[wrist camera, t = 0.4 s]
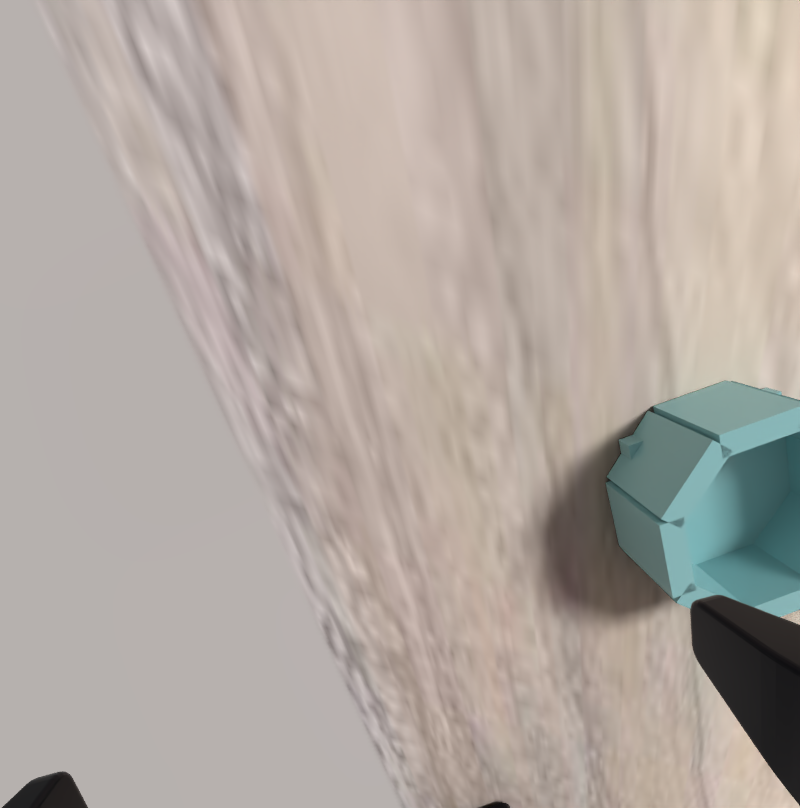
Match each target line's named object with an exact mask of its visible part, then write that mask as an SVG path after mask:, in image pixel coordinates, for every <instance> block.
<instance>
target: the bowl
mask: <svg viewBox="0 0 800 808" xmlns="http://www.w3.org/2000/svg"><path fill="white" fill-rule="evenodd" d="M653 408H654V413H653V412H650V411H647V413H646V414H645V416H644V418H643V419H642V421H641V422H640V424H639V426H638V427H637V429H636V430H635V432H634V434H633V435H631V436H628V437H625V438H622V439H619V445H620V450H621V454H620V456H619V458H618V459H617V461H616V463H615V464H614V466H613V467H612V469H611V471H610V472H609V474H608V475H607V478H609V479H610V480H611V481H609V482H606V488H607V492H608V497H609V501H610V506H611V511H612V515H613V520H614V524H615V529H616V534H617V538H618V543H619V546H620V547H621V548H622V550H623V551H624V552H625V553H626V554H627V555H628V556H629V557H630V558H631V559H632V560H633V561H635V562H636V563H637V564H638V565H639V566H640V567H641V568H642V569H643V570H644V571H645V572H646V573H647V574H648V575H649V576H650V577H651V578H652V579H653V580H654V581H655V582H656V583H657V584H658V585H659V586H660V587H661V588H662V589H663V590H664V591H665V592H666V593H667V594H668V595H669V596H670V597H671V598H672V599H673V600H674V601H675V602H676V603H678V604H680V605H683V606H685V607H687V608H691V604H692V603H693V602H694V601H695V600H698V599H702V598H705V597H709V596H713V595H723V596H726V597H729V598H732V599H734V600H737V601H739V602H742V603H744V604H747V605H750V606H752V607H755V608H757V609H760V610H762V611H765V612H768V613H770V614H773V615H775V616H778V617H781V616H784V615H787V614H789V613H792V612H795V611H797V610H800V400H797V399H793V398H790V397H786V396H783V395H782V394H781V392H780V391H777V390H773V389H770V388H764V389H758V388H755V387H751V386H748V385H744V384H741V383H737V382H734V381H731V382H729V381H723V382H720V383H718V384H715V385H712V386H709V387H706V388H703V389H700V390H698V391H695V392H692V393H689V394H686V395H683V396H681V397H678V398H675V399H672V400H669V401H666V402H664V403H661V404H658V405H655V406H653Z"/></svg>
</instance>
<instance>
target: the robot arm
mask: <svg viewBox="0 0 800 808" xmlns="http://www.w3.org/2000/svg"><path fill="white" fill-rule="evenodd" d="M690 614H691V633H692V646H693V651H694V654H695V656H696V658H697V660H698V662H699V664H700V665H701V667H702V668H703V670H704V671H705V673H706V674H707V676H708V677H709V679H710V680H711V682H712V683H713V685H714V686H715V688H716V689H717V690H718V692H719V693H720V695H721V696H722V698H723V699H724V701H725V702H726V704H727V705H728V707H729V708H730V710H731V711H732V712H733V714H734V715H735V717H736V718H737V720H738V721H739V723H740V724H741V726H742V727H743V729H744V730H745V732H746V733H747V734H748V736H749V737H750V739H751V740H752V742H753V743H754V745H755V746H756V748H757V749H758V751H759V752H760V754H761V755H762V756H763V758H764V759H765V761H766V762H767V763H768V765H769V766H770V768H771V769H772V770H773V772H774V773H775V775H776V776H777V777H778V778H779V780H780V781H781V782H782V784H783V785H784V786H785V787H786V789H787V790H788V791H789V793H790V794H791V795H792V796H793V798H794V799H795V800H796V801H797V802H798V804H799V805H800V625H799V624H796V623H793V622H791V621H788V620H786V619H783V618H780V617H778V616H775V615H773V614H770V613H768V612H765V611H762V610H760V609H757V608H755V607H752V606H750V605H747V604H744V603H742V602H739V601H737V600H734V599H732V598H729V597H726V596H723V595H713V596H709V597H705V598H702V599H698V600H695V601H694V602H693V603H692V604H691V608H690ZM2 808H88V807H87V805H86V803H85V801H84V799H83V797H82V795H81V793H80V791H79V789H78V788H77V786H76V784H75V782H74V780H73V778H72V777H71V775H70V774H68V773H66V772H57V773H53V774H50V775H46V776H42V777H38V778H36V779H34V780H32V781H30V782H29V783H28V784H26V785H25V786H24V787H23V788H22V789H21V790H20V791H19V792H18V793H17V794H16V795H15V796H14V797H13V798H12V799H11V800H10V801H9V802H8V803H6V804H5V805H4V806H3V807H2ZM489 808H510V806H509V805H508V804H506V803H500V804H497V805H494V806H491V807H489Z"/></svg>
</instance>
